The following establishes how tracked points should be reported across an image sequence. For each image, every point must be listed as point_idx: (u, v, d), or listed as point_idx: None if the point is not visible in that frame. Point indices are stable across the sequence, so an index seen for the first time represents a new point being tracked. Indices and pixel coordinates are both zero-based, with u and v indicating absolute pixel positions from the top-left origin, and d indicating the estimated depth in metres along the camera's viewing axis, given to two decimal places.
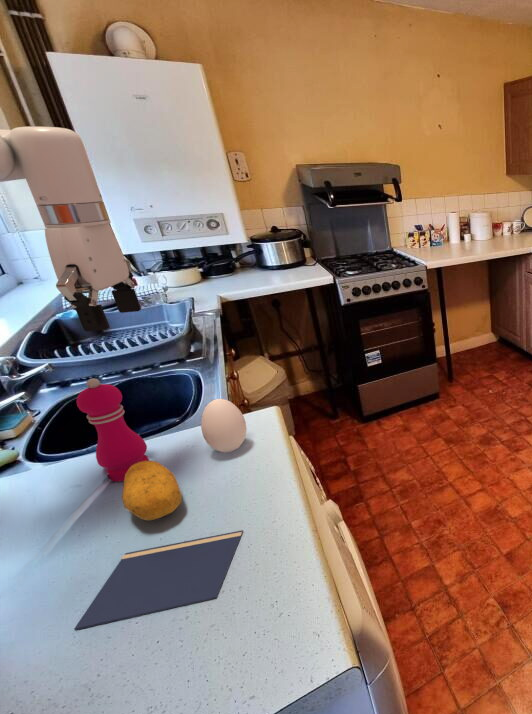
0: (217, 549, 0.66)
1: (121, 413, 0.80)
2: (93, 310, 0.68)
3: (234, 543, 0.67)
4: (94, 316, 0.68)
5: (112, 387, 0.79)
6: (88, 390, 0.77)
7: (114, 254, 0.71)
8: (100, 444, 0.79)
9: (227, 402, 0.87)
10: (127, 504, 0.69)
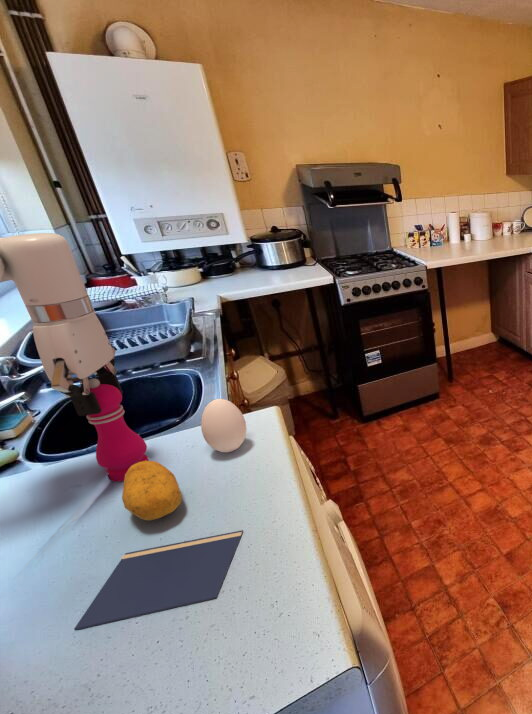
0: (217, 549, 0.66)
1: (121, 413, 0.80)
2: (86, 398, 0.74)
3: (234, 543, 0.67)
4: (87, 403, 0.74)
5: (112, 387, 0.79)
6: None
7: (99, 341, 0.77)
8: (100, 444, 0.79)
9: (227, 402, 0.87)
10: (127, 504, 0.69)
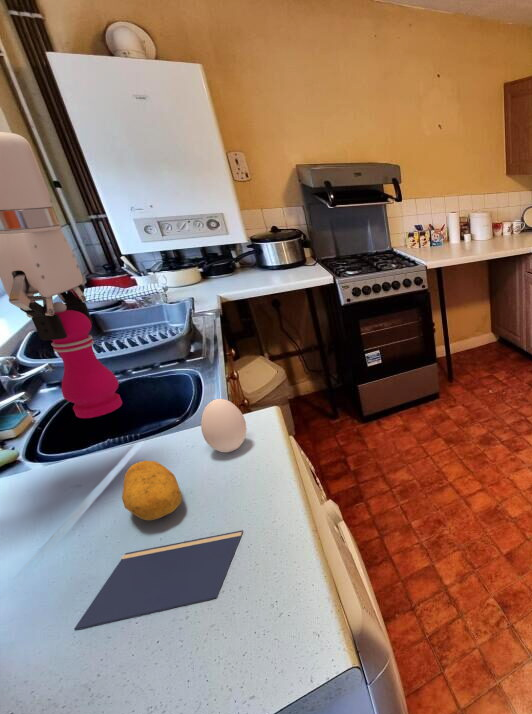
0: (217, 549, 0.66)
1: (90, 343, 0.74)
2: (50, 320, 0.68)
3: (234, 543, 0.67)
4: (51, 325, 0.68)
5: (80, 313, 0.73)
6: None
7: (65, 260, 0.70)
8: (66, 375, 0.73)
9: (227, 402, 0.87)
10: (127, 504, 0.69)
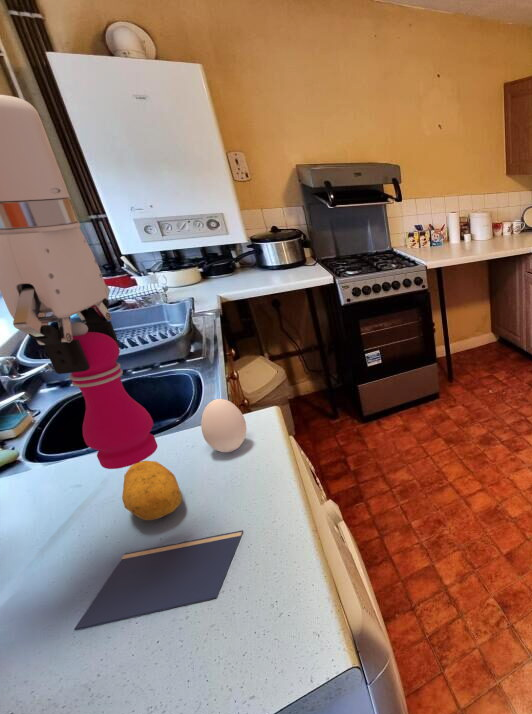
0: (217, 549, 0.66)
1: (118, 373, 0.58)
2: (67, 347, 0.52)
3: (234, 543, 0.67)
4: (69, 355, 0.52)
5: (105, 336, 0.56)
6: None
7: (86, 268, 0.54)
8: (88, 416, 0.57)
9: (227, 402, 0.87)
10: (127, 504, 0.69)
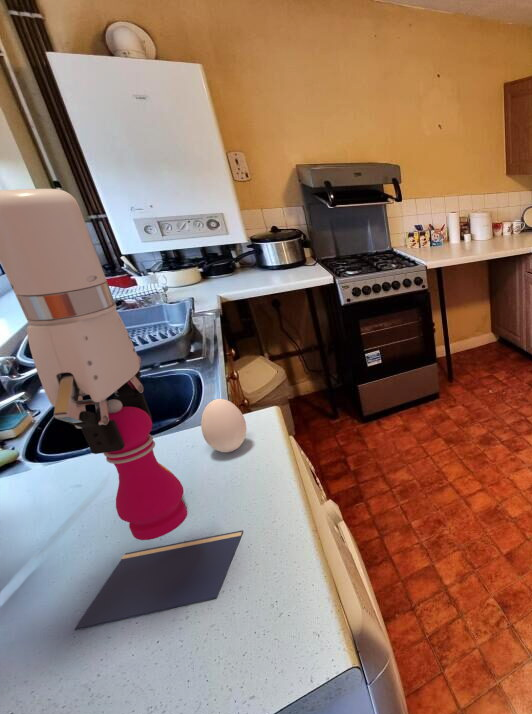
0: (217, 549, 0.66)
1: (151, 447, 0.58)
2: (104, 429, 0.52)
3: (234, 543, 0.67)
4: (105, 436, 0.52)
5: (139, 411, 0.57)
6: None
7: (121, 347, 0.54)
8: (122, 490, 0.57)
9: (227, 402, 0.87)
10: None
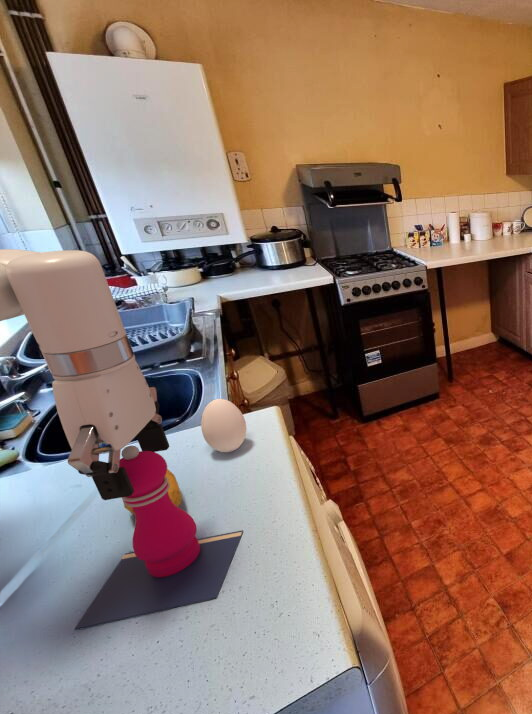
0: (217, 549, 0.66)
1: (166, 489, 0.60)
2: (114, 476, 0.53)
3: (234, 543, 0.67)
4: (115, 484, 0.53)
5: (155, 456, 0.59)
6: (124, 463, 0.57)
7: (139, 394, 0.57)
8: (138, 531, 0.59)
9: (227, 402, 0.87)
10: None
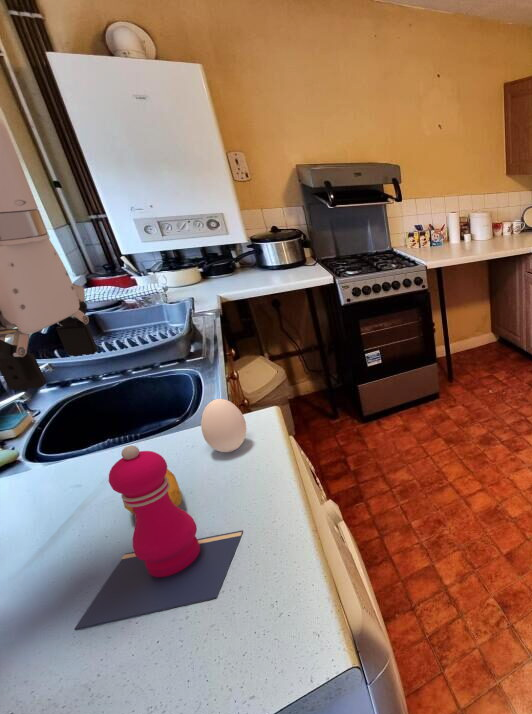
0: (217, 549, 0.66)
1: (166, 489, 0.60)
2: (21, 362, 0.48)
3: (234, 543, 0.67)
4: (22, 370, 0.48)
5: (155, 456, 0.59)
6: (124, 463, 0.57)
7: (56, 281, 0.52)
8: (138, 531, 0.59)
9: (227, 402, 0.87)
10: None
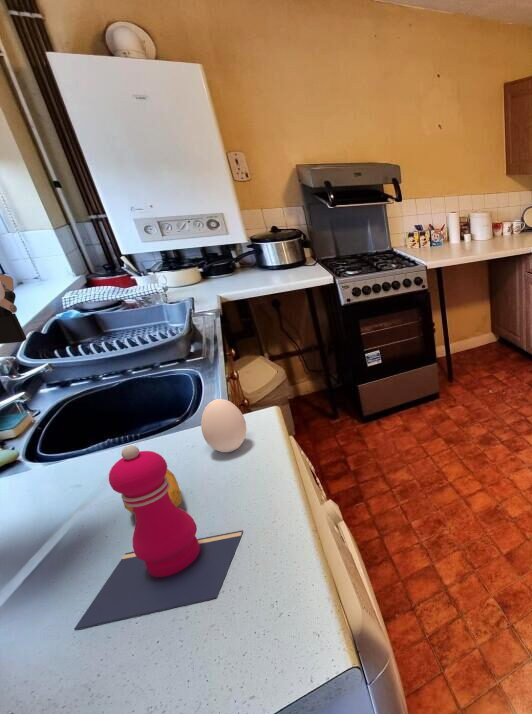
0: (217, 549, 0.66)
1: (166, 489, 0.60)
2: None
3: (234, 543, 0.67)
4: None
5: (155, 456, 0.59)
6: (124, 463, 0.57)
7: None
8: (138, 531, 0.59)
9: (227, 402, 0.87)
10: None
